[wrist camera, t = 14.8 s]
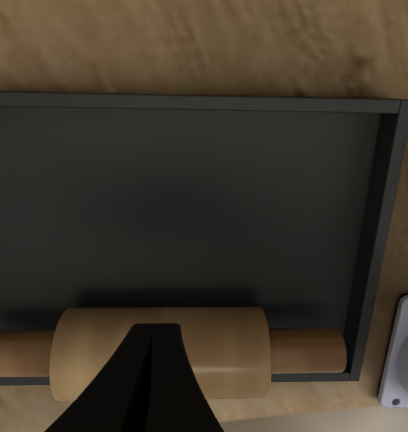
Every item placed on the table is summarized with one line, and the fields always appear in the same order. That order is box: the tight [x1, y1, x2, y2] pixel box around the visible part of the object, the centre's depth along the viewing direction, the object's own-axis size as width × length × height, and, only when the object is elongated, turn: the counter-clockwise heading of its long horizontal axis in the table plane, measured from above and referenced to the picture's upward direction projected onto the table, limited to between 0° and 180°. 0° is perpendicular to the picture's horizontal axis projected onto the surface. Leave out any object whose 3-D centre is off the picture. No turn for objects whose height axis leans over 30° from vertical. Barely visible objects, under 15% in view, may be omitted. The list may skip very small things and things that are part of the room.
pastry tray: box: [0, 91, 408, 385], centre depth 18 cm, size 21×15×2 cm
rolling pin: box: [0, 307, 347, 402], centre depth 18 cm, size 18×4×4 cm, turn 89°
